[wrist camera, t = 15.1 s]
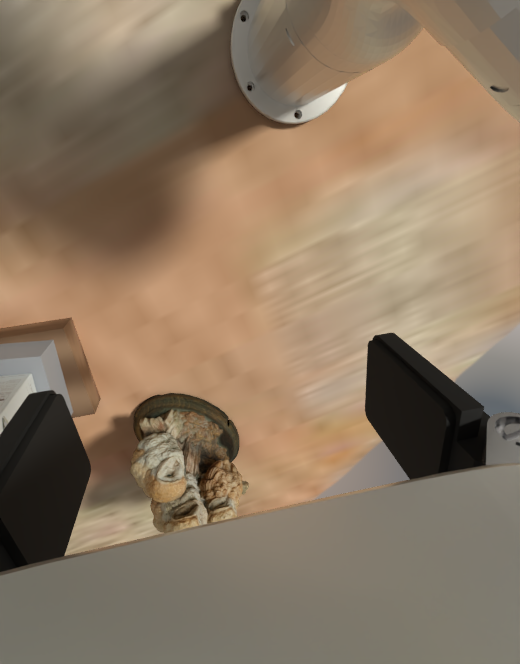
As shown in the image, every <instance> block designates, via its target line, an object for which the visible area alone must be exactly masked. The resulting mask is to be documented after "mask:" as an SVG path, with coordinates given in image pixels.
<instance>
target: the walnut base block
mask: <svg viewBox="0 0 520 664" xmlns="http://www.w3.org/2000/svg"><path fill="white" fill-rule="evenodd" d="M45 340H54V344H55V347H56V351H57V355H58V358H59V362H60V365H61V369H62V373H63V376H64V380H65V384H66V387H67V391H68V395H69V398H70V402H71V406H72V409H73V413H72V415H71V417H72V418H74V417H80V416H85V415H90V414H95V412H96V409H97V407H98V404H99V401H100V396H99V393H98V390H97V388H96V385H95V382H94V379H93V376H92V374H91V371H90V368H89V365H88V362H87V359H86V357H85V354H84V351H83V348H82V345H81V343H80V340H79V337H78V334H77V331H76V328H75V326H74V323H73V320H72V318H66V319H59V320H53V321H46V322H40V323H33V324H27V325H20V326H13V327H7V328H0V344H7V343H20V342H32V341H45Z"/></svg>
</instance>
